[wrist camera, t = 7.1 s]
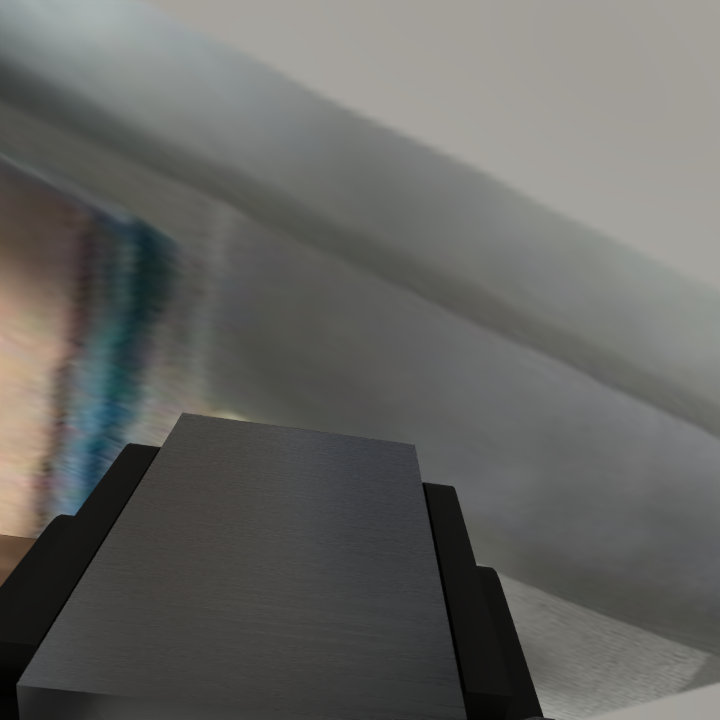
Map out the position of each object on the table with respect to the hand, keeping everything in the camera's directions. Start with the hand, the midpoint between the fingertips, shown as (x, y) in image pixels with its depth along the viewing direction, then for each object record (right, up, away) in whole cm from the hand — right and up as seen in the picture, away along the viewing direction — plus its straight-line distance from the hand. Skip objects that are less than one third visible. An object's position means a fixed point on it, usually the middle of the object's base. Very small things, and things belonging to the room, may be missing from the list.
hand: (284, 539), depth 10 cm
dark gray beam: (-1, -5, +3) cm, 6 cm away
